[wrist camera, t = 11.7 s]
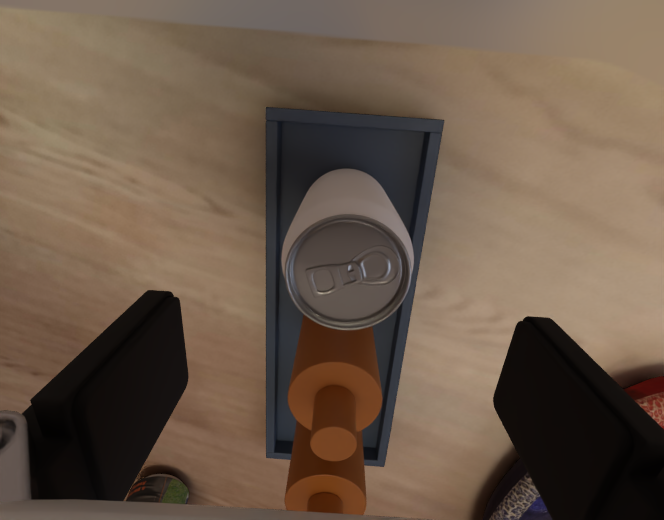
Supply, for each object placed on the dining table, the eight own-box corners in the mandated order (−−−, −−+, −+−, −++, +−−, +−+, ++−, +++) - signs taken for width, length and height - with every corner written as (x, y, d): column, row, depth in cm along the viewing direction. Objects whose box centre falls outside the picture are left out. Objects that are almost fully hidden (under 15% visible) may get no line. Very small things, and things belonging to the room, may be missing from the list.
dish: (428, 521, 40) (439, 573, 36) (638, 320, 30) (691, 357, 25) (534, 566, 43) (557, 620, 38) (761, 394, 33) (831, 440, 28)
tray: (271, 107, 25) (265, 106, 23) (436, 119, 25) (444, 119, 23) (270, 440, 36) (265, 458, 35) (382, 448, 36) (384, 467, 35)
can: (397, 239, 27) (434, 321, 16) (317, 260, 28) (300, 351, 17) (377, 156, 25) (404, 185, 14) (291, 181, 26) (253, 227, 15)
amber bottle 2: (301, 370, 32) (277, 520, 20) (362, 375, 32) (374, 527, 20) (299, 417, 34) (276, 578, 22) (357, 421, 34) (364, 584, 22)
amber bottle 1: (305, 282, 29) (279, 397, 17) (373, 287, 29) (395, 406, 17) (303, 339, 31) (277, 479, 19) (366, 344, 31) (381, 487, 19)
